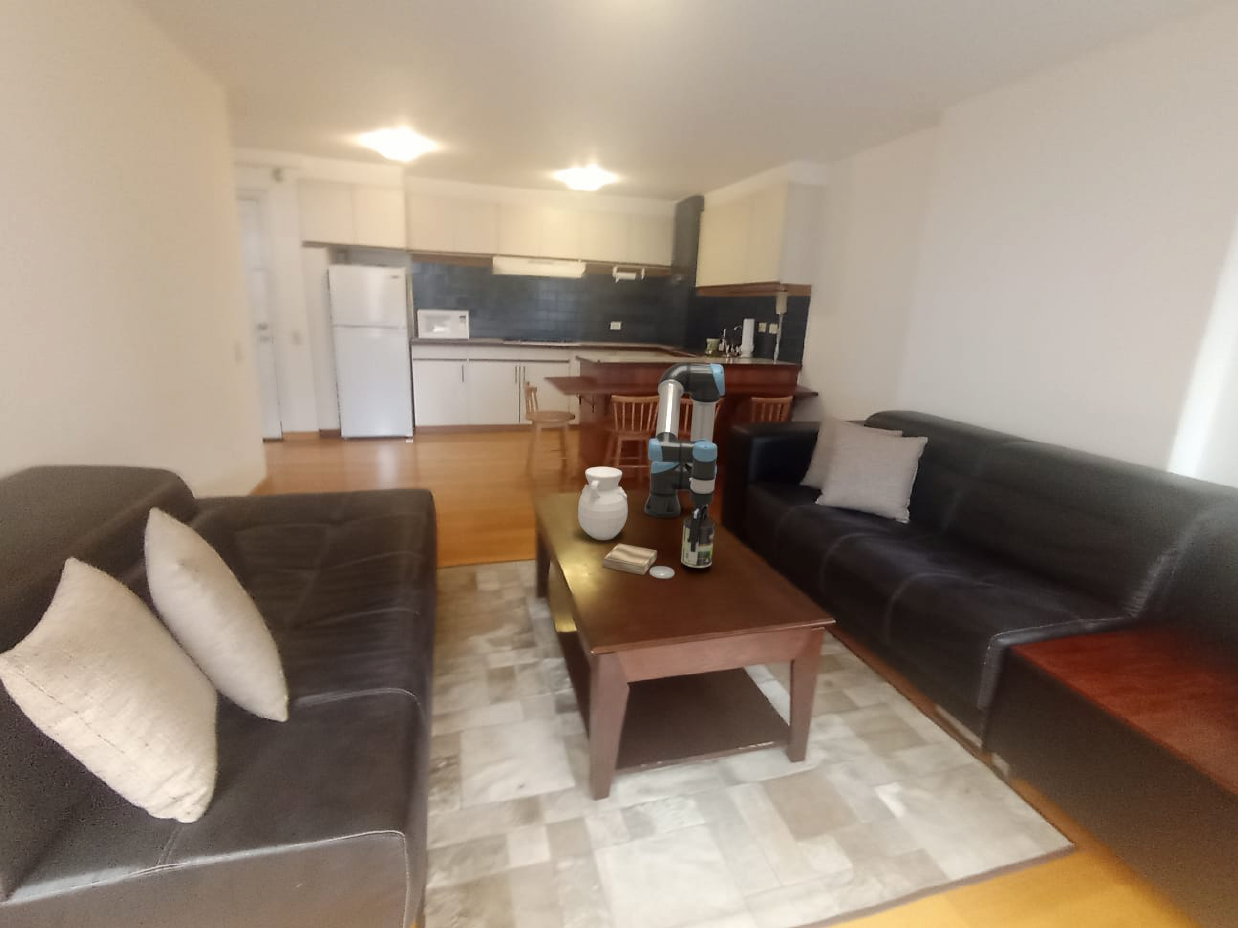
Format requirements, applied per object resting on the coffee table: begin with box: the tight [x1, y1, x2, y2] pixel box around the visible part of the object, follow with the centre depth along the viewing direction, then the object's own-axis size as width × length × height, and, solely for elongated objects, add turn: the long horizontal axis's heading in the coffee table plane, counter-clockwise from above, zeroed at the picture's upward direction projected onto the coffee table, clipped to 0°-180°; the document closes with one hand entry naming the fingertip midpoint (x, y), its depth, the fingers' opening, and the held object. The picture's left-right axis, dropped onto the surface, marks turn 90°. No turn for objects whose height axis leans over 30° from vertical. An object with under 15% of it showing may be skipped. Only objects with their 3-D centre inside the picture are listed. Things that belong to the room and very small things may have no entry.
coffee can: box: [680, 516, 716, 569], centre depth 190 cm, size 10×10×14 cm
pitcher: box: [577, 466, 629, 541], centre depth 213 cm, size 19×18×25 cm
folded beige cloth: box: [602, 543, 658, 576], centre depth 194 cm, size 14×14×3 cm
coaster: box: [649, 565, 675, 579], centre depth 187 cm, size 8×8×1 cm
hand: (696, 553), depth 191 cm, fingers closed on coffee can, 10 cm apart
